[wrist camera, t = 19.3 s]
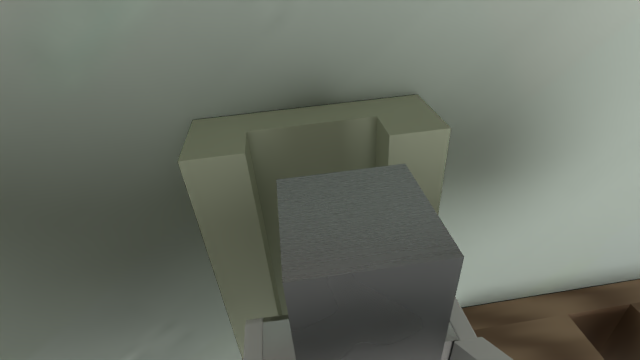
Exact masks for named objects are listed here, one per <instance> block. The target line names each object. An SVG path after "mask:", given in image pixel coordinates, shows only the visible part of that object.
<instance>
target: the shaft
mask: <svg viewBox="0 0 640 360" xmlns="http://www.w3.org/2000/svg"><path fill="white" fill-rule="evenodd" d="M276 182H277V199H278V215H279V232H280V248H281V265H282V282H283V288H284V294H285V300H286V305H287V311H288V317H289V322H290V328H291V334H292V339H293V345H294V351H295V356H296V360H441V357H442V353H443V348H444V344H445V339H446V335H447V330H448V326H449V321H450V317H451V313H452V308H453V304H454V299H455V295H456V290H457V286H458V282H459V277H460V273H461V268H462V264H463V259H464V256H463V254H462V253H461V251H460V250H459V248H458V246H457V245H456V243H455V242H454V240H453V238H452V237H451V235H450V234H449V232H448V231H447V229H446V227H445V226H444V224H443V223H442V221H441V219H440V218H439V216H438V215H437V213H436V212H435V210H434V208H433V207H432V205H431V204H430V202H429V200H428V199H427V197H426V196H425V194H424V193H423V191H422V189H421V188H420V186H419V185H418V183H417V181H416V180H415V178H414V177H413V175H412V173H411V172H410V170H409V169H408V167H407V166H406V164H397V165H389V166H381V167H373V168H365V169H357V170H349V171H341V172H333V173H325V174H316V175H308V176H300V177H292V178H284V179H276Z"/></svg>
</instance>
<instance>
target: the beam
mask: <svg viewBox="0 0 640 360" xmlns="http://www.w3.org/2000/svg"><path fill="white" fill-rule="evenodd" d="M462 310H463V312H464V314H465V316H466V317H467V319H468V321H469V323H470V325H471V327H472V329H473V330H474V332H475V334H476V336H477V338H478V337H483V338H484V339H486V340H487V341H488V342H490V343H491V344H493V345H494V346H495V347H497V348H498V349H499V350H501V351H502V352H504V353H505V354H506V355H508V356H509V357H510V358H512V359H513V360H640V279H638V280H632V281H626V282H620V283H614V284H607V285H601V286H595V287H589V288H583V289H577V290H570V291H564V292H558V293H552V294H546V295H540V296H534V297H527V298H521V299H515V300H509V301H503V302H497V303H490V304H484V305H478V306H472V307H466V308H462Z"/></svg>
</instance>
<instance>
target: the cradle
mask: <svg viewBox="0 0 640 360" xmlns="http://www.w3.org/2000/svg"><path fill="white" fill-rule="evenodd" d="M450 132H451V128H450V127H449V126H448V125H447V124H446V123H445V122H444V121H443V120H442V119H441V118H440V117H439V116H438V115H437V114H436V113H435V112H434V111H433V110H432V109H431V108H430V107H429V106H428V105H427V104H426V103H425V102H424V101H423V100H422V99H421V98H420V97H419V96H418V95H408V96H400V97H391V98H382V99H373V100H365V101H356V102H347V103H338V104H329V105H321V106H312V107H303V108H294V109H286V110H277V111H268V112H259V113H250V114H242V115H233V116H224V117H215V118H207V119H198V120H193V121H192V124H191V126H190V129H189V132H188V134H187V137H186V140H185V143H184V145H183V148H182V151H181V154H180V156H179V159H178V164H179V167H180V170H181V174H182V177H183V180H184V183H185V186H186V189H187V192H188V195H189V198H190V201H191V204H192V207H193V210H194V213H195V216H196V219H197V222H198V225H199V228H200V231H201V234H202V237H203V240H204V243H205V246H206V250H207V253H208V256H209V259H210V262H211V265H212V268H213V271H214V274H215V277H216V280H217V283H218V286H219V289H220V292H221V295H222V298H223V301H224V304H225V307H226V310H227V313H228V316H229V319H230V322H231V326H232V329H233V332H234V335H235V338H236V341H237V344H238V347H239V350H240V353H241V356H242V359H243V355H244V335H245V324H246V320H250V319H257V318H265V317H273V316H280V315H288V311H287V305H286V300H285V294H284V288H283V282H282V265H281V248H280V232H279V215H278V199H277V182H276V179H284V178H292V177H300V176H308V175H316V174H325V173H333V172H341V171H349V170H357V169H365V168H373V167H381V166H389V165H397V164H406V166H407V167H408V169H409V170H410V172H411V173H412V175H413V177H414V178H415V180H416V181H417V183H418V185H419V186H420V188H421V189H422V191H423V193H424V194H425V196H426V197H427V199H428V200H429V202H430V204H431V205H432V207H433V208H434V210H435V212H436V213H437V215H438V212H439V205H440V198H441V192H442V185H443V179H444V172H445V165H446V159H447V152H448V145H449V139H450Z"/></svg>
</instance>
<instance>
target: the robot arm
mask: <svg viewBox="0 0 640 360" xmlns="http://www.w3.org/2000/svg"><path fill="white" fill-rule="evenodd" d="M243 360H296V356H295V351H294V345H293V339H292V334H291V328H290V322H289V317H288V315H280V316H273V317H265V318H257V319H250V320H246V324H245V335H244V355H243ZM441 360H513V359H512V358H510V357H509V356H508V355H506V354H505V353H504V352H502V351H501V350H499V349H498V348H497V347H495V346H494V345H493V344H491V343H490V342H488V341H487V340H486V339H484V338H483V337H478V338H477V336H476V334H475V332H474V330H473V329H472V327H471V325H470V323H469V321H468V319H467V317H466V316H465V314H464V312H463V310H462V308H461V306H460V304H459V303H458V301H457V299H456V297H455V299H454V304H453V308H452V313H451V317H450V321H449V326H448V330H447V335H446V339H445V344H444V348H443V353H442V357H441Z"/></svg>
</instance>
